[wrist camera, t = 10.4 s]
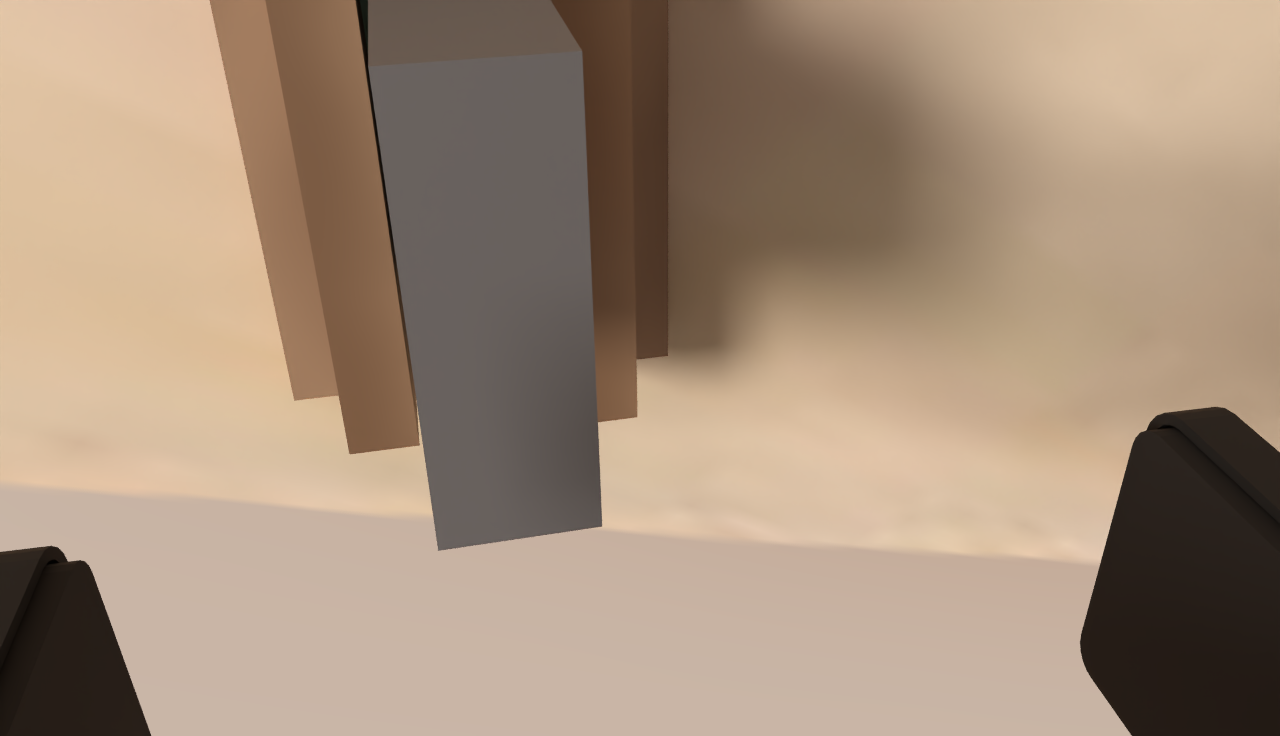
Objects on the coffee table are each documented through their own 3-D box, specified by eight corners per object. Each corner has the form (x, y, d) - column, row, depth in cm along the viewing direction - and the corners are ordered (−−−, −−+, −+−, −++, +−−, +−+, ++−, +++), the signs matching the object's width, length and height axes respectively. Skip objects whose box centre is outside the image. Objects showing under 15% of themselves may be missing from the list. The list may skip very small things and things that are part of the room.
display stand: (654, -305, 21) (703, -306, 18) (657, 332, 28) (692, 410, 25) (158, -298, 19) (118, -299, 16) (296, 374, 27) (287, 462, 24)
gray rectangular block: (507, -89, 21) (601, 50, 13) (531, 245, 25) (617, 523, 16) (368, -82, 20) (368, 66, 12) (413, 257, 24) (438, 550, 16)
